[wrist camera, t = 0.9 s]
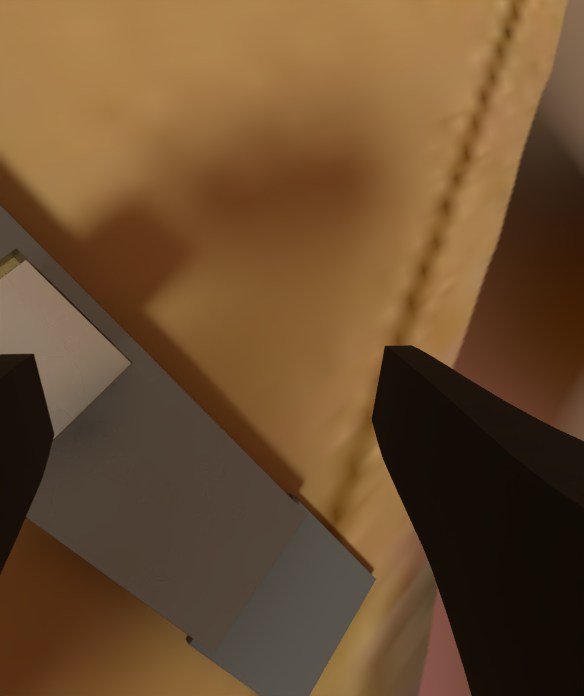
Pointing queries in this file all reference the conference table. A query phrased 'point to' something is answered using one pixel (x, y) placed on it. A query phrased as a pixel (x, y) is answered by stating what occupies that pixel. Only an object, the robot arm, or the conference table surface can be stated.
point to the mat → (294, 615)
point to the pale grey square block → (56, 344)
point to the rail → (156, 484)
